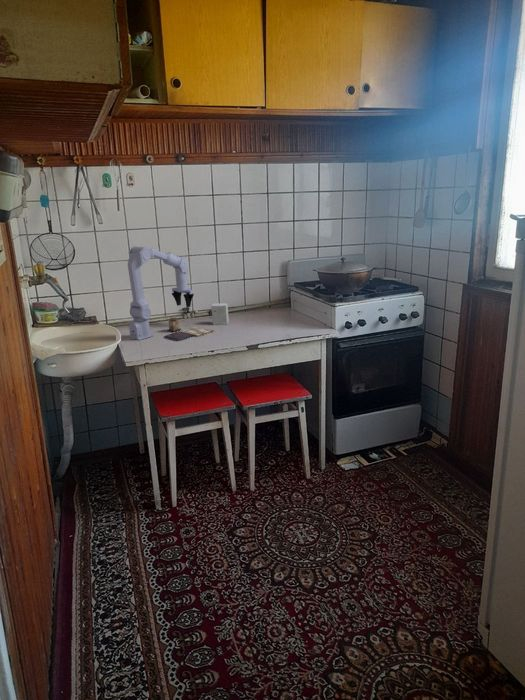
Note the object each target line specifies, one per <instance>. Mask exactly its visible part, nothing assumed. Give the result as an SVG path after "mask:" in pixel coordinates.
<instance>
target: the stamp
mask: <svg viewBox="0 0 525 700" xmlns="http://www.w3.org/2000/svg"><path fill="white" fill-rule="evenodd" d="M180 330H181V331H182V328H180V321H179V320H177V317H170V318H169V320H168V329H167V332H168V331H170V332H169V333H173V332H177V331H178V332H180Z"/></svg>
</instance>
